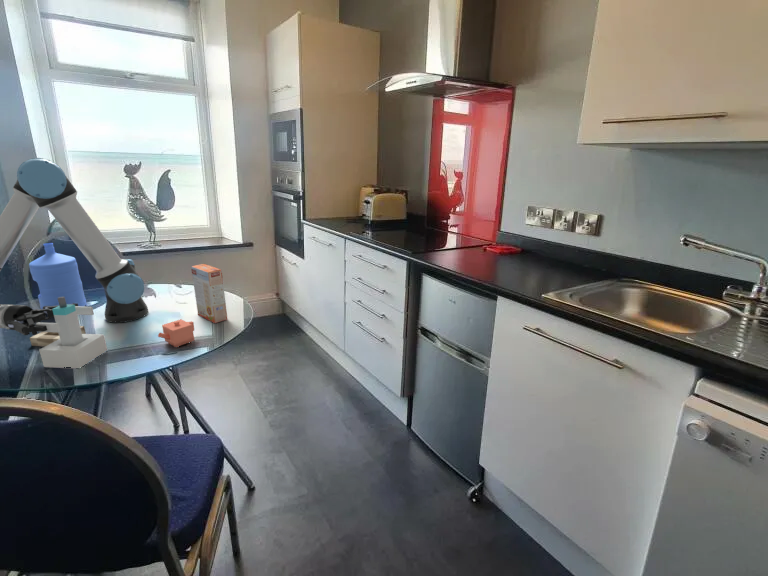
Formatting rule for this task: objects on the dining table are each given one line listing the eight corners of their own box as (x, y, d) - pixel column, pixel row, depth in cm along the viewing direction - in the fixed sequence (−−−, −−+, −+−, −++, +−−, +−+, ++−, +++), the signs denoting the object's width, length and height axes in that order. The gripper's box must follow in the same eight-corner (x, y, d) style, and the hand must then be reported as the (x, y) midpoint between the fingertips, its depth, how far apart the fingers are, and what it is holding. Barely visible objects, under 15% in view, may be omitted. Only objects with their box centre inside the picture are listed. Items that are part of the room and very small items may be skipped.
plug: (73, 347, 137) (60, 295, 131) (85, 347, 137) (72, 295, 131) (63, 352, 133) (49, 299, 127) (75, 353, 133) (61, 300, 127)
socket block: (74, 349, 142) (70, 333, 140) (107, 350, 141) (103, 334, 139) (44, 367, 131) (39, 349, 129) (80, 368, 130) (75, 351, 128)
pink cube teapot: (155, 346, 144) (151, 324, 142) (189, 335, 153) (186, 314, 150) (166, 353, 139) (162, 330, 137) (200, 341, 148) (197, 319, 146)
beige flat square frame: (58, 332, 155) (56, 325, 154) (85, 333, 154) (84, 326, 153) (31, 345, 145) (29, 337, 144) (61, 347, 144) (59, 339, 143)
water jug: (95, 301, 186) (80, 239, 177) (69, 315, 171) (52, 248, 162) (60, 301, 186) (44, 239, 177) (31, 315, 171) (12, 248, 162)
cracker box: (228, 319, 167) (222, 269, 160) (214, 324, 162) (207, 272, 156) (211, 311, 175) (204, 262, 169) (197, 315, 171) (190, 265, 165)
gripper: (49, 313, 146) (106, 315, 144) (-23, 345, 122) (45, 347, 120) (43, 292, 143) (102, 294, 142) (-31, 321, 120) (38, 323, 118)
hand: (76, 318), depth 131 cm, fingers open, 13 cm apart
